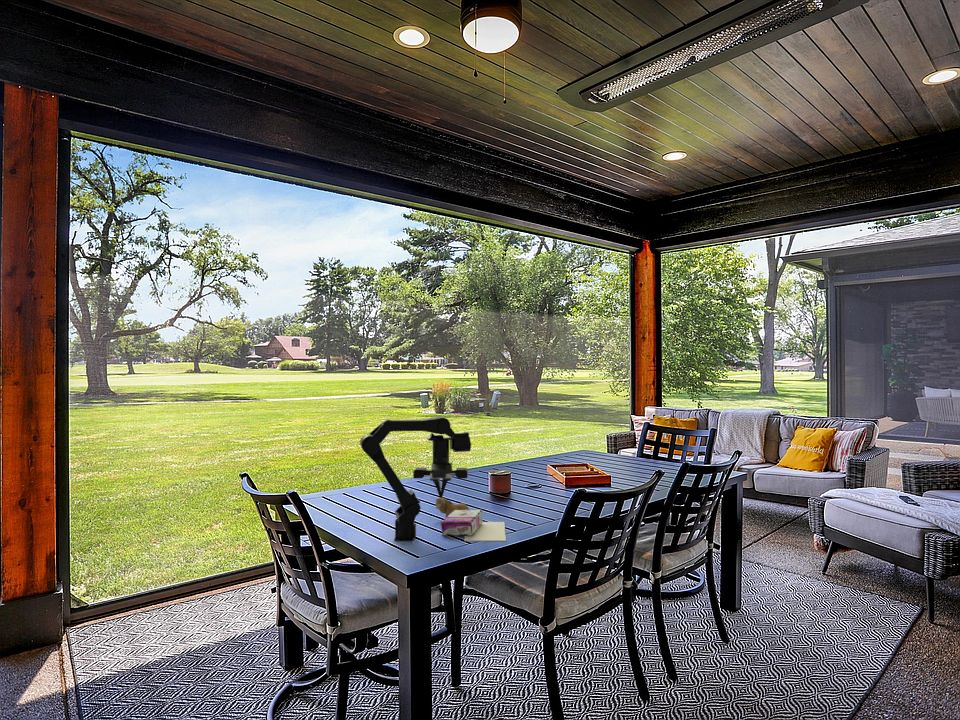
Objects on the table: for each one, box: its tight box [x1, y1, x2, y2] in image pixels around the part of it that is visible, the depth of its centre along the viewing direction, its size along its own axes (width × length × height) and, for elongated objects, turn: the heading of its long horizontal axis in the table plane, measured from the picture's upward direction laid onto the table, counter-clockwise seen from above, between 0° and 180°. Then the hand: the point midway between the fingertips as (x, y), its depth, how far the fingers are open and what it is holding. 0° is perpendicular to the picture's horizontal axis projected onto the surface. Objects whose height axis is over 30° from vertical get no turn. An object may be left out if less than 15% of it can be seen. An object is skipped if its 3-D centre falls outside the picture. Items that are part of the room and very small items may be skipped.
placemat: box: [464, 521, 507, 542], centre depth 203 cm, size 14×22×1 cm, turn 179°
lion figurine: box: [435, 496, 470, 518], centre depth 216 cm, size 15×5×9 cm, turn 90°
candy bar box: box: [440, 509, 484, 536], centre depth 205 cm, size 11×5×16 cm
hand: (441, 497), depth 199 cm, fingers closed
